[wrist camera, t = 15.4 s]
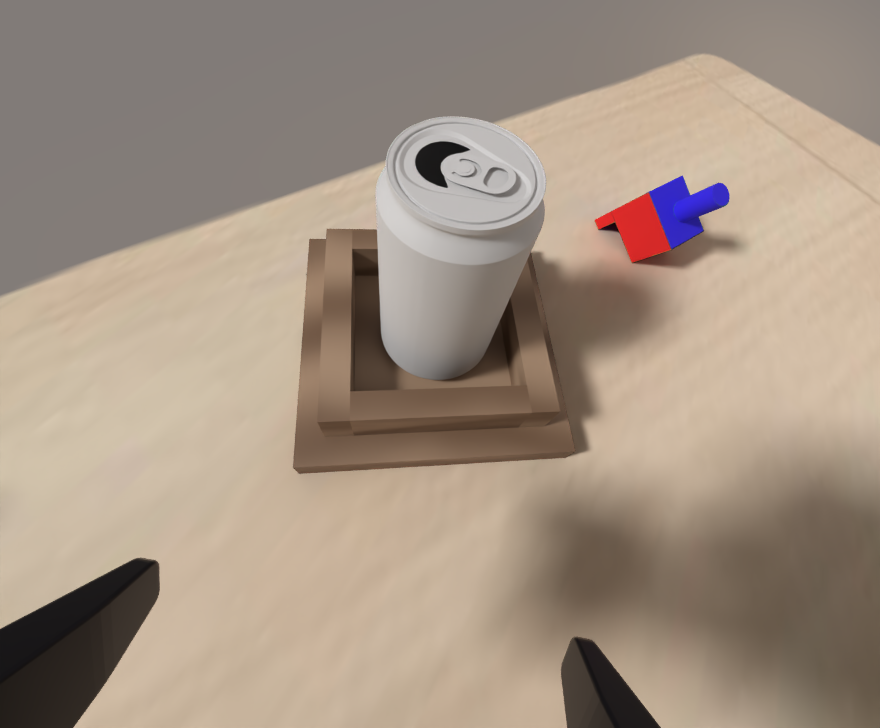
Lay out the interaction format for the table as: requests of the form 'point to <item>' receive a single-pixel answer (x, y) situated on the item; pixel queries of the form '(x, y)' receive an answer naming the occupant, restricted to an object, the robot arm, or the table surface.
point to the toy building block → (663, 217)
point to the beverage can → (452, 239)
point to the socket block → (416, 379)
